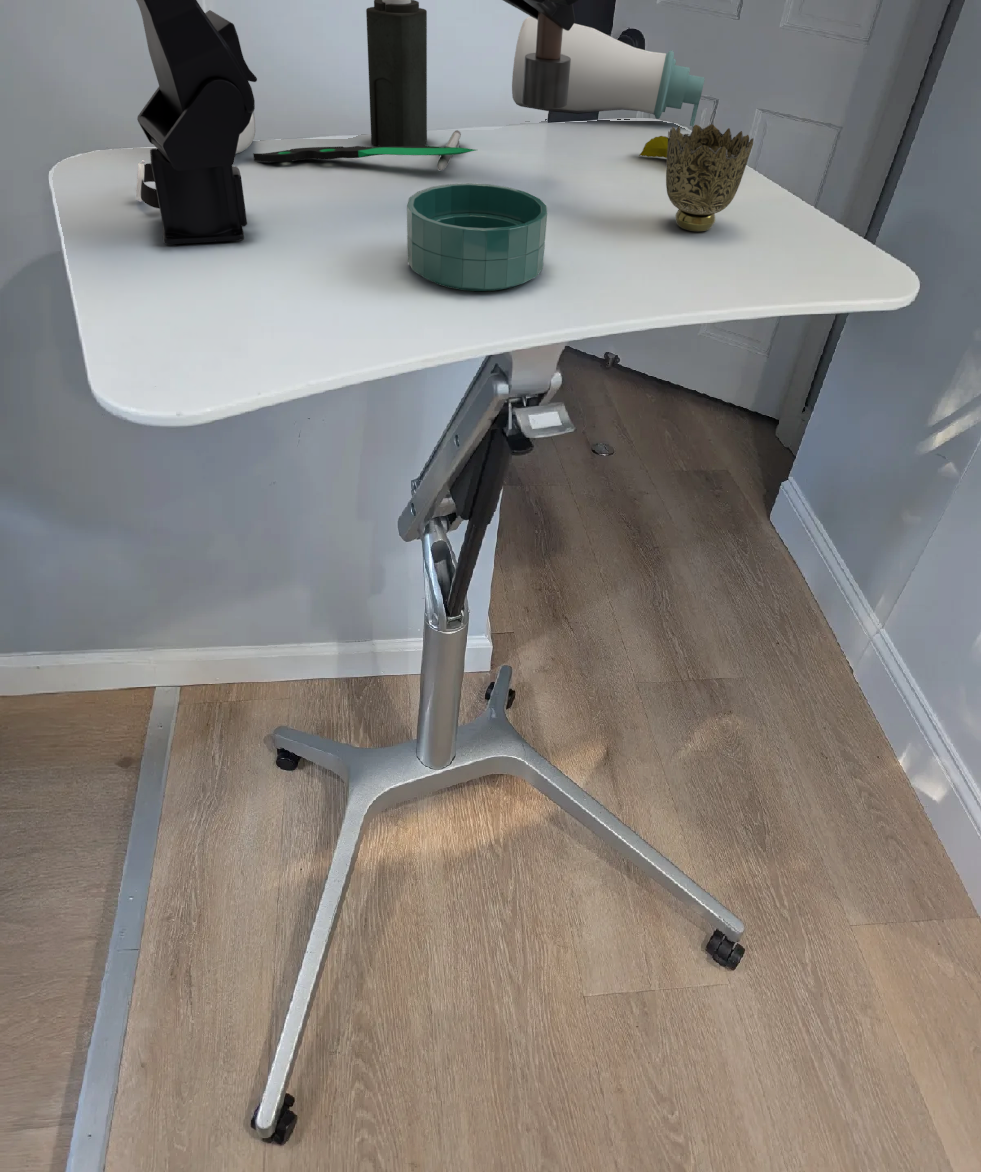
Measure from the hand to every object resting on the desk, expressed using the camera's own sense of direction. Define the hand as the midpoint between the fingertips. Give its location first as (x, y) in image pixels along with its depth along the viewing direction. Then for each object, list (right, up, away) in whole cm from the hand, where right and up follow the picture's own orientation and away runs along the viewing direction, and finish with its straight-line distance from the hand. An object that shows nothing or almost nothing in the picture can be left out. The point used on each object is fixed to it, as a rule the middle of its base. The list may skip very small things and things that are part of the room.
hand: (561, 23), depth 84 cm
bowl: (-8, -27, -10) cm, 30 cm away
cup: (+12, -19, 0) cm, 23 cm away
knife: (-20, -10, +5) cm, 23 cm away
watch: (-37, -18, -2) cm, 41 cm away
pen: (-11, -7, +12) cm, 18 cm away
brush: (-1, -6, +4) cm, 7 cm away
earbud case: (-37, -2, +8) cm, 37 cm away
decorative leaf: (+14, -7, +14) cm, 21 cm away
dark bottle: (-17, -4, +16) cm, 24 cm away
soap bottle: (-3, +12, +27) cm, 30 cm away
